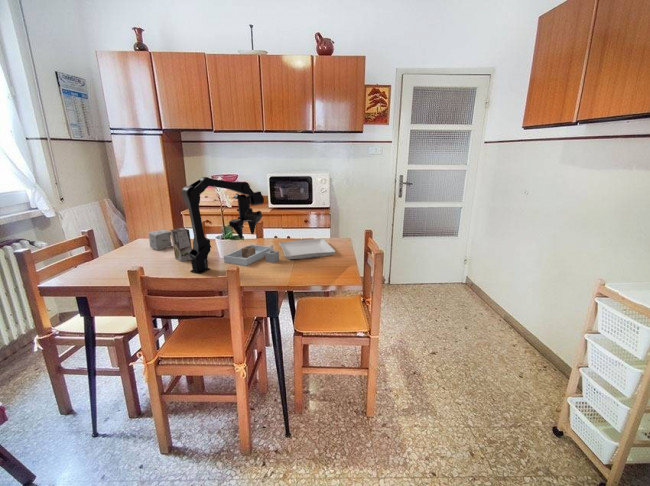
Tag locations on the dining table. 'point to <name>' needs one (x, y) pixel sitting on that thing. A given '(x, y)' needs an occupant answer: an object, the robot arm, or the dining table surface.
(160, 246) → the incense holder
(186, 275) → the dining table surface
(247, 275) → the dining table surface
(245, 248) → the walnut block
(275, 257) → the gauged block
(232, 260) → the tray
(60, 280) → the dining table surface
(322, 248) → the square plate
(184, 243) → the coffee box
